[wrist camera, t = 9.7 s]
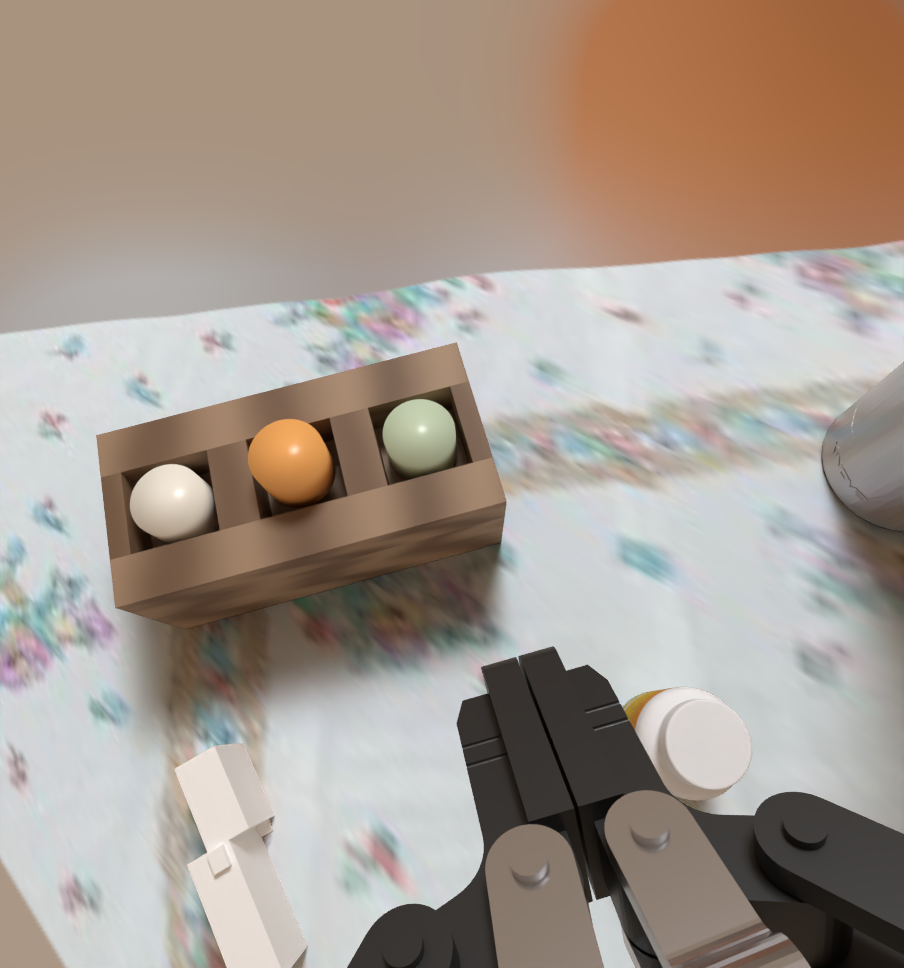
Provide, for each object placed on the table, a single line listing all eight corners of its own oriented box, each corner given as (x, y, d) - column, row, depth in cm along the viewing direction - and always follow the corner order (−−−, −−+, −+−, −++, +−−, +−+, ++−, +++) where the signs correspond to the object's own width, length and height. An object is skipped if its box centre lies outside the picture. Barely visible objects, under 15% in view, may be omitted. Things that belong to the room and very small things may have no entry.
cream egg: (217, 474, 41) (198, 456, 38) (228, 538, 39) (209, 523, 37) (150, 492, 40) (125, 474, 38) (159, 556, 39) (134, 543, 36)
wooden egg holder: (460, 408, 48) (456, 342, 40) (501, 542, 45) (506, 501, 37) (164, 486, 47) (96, 435, 39) (185, 629, 44) (115, 607, 36)
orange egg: (327, 432, 40) (315, 410, 37) (342, 497, 38) (331, 479, 35) (259, 450, 39) (242, 429, 36) (271, 516, 38) (255, 499, 35)
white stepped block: (331, 1007, 38) (307, 1055, 32) (134, 967, 39) (78, 1007, 33) (382, 720, 42) (368, 720, 37) (205, 690, 43) (166, 687, 38)
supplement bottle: (606, 778, 41) (645, 795, 31) (616, 684, 42) (654, 674, 33) (700, 796, 40) (766, 819, 31) (705, 700, 42) (770, 694, 33)
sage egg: (447, 413, 41) (444, 391, 39) (464, 474, 40) (464, 455, 37) (382, 430, 41) (375, 409, 38) (398, 492, 40) (392, 474, 37)
